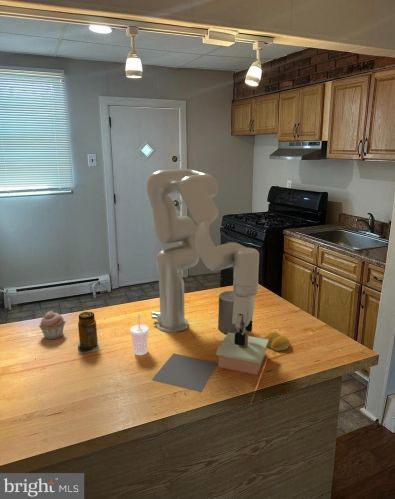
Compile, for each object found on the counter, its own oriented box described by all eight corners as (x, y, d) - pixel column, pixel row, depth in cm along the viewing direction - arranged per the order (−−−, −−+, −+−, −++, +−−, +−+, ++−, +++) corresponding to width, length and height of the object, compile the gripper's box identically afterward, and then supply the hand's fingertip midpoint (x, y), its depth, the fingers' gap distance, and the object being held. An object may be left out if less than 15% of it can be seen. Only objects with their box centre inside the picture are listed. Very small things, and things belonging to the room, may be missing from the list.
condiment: (98, 339, 137) (95, 309, 133) (100, 350, 129) (98, 319, 126) (77, 342, 134) (74, 311, 131) (78, 354, 127) (75, 322, 123)
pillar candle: (217, 322, 150) (218, 287, 146) (242, 322, 149) (243, 287, 145) (218, 334, 140) (218, 297, 136) (244, 334, 140) (245, 297, 136)
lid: (215, 354, 117) (216, 338, 116) (228, 334, 130) (228, 319, 128) (259, 363, 113) (260, 346, 111) (268, 341, 125) (269, 326, 124)
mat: (151, 381, 112) (151, 379, 112) (173, 354, 127) (173, 353, 127) (201, 393, 107) (201, 392, 107) (218, 363, 121) (218, 362, 121)
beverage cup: (147, 346, 132) (146, 310, 128) (151, 355, 126) (149, 317, 122) (130, 349, 130) (128, 312, 126) (132, 358, 124) (130, 320, 120)
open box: (218, 368, 119) (218, 354, 118) (229, 348, 130) (229, 335, 129) (257, 376, 115) (258, 362, 113) (265, 355, 126) (266, 342, 125)
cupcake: (72, 334, 140) (69, 309, 138) (49, 344, 133) (47, 318, 130) (57, 327, 146) (54, 303, 143) (35, 336, 138) (32, 311, 136)
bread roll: (280, 354, 127) (280, 343, 126) (259, 344, 134) (260, 334, 133) (294, 345, 133) (295, 335, 132) (273, 336, 139) (274, 326, 138)
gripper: (240, 277, 125) (238, 324, 129) (225, 296, 109) (224, 348, 114) (262, 280, 122) (260, 327, 127) (251, 299, 107) (248, 353, 111)
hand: (243, 337), depth 120 cm, fingers open, 9 cm apart
